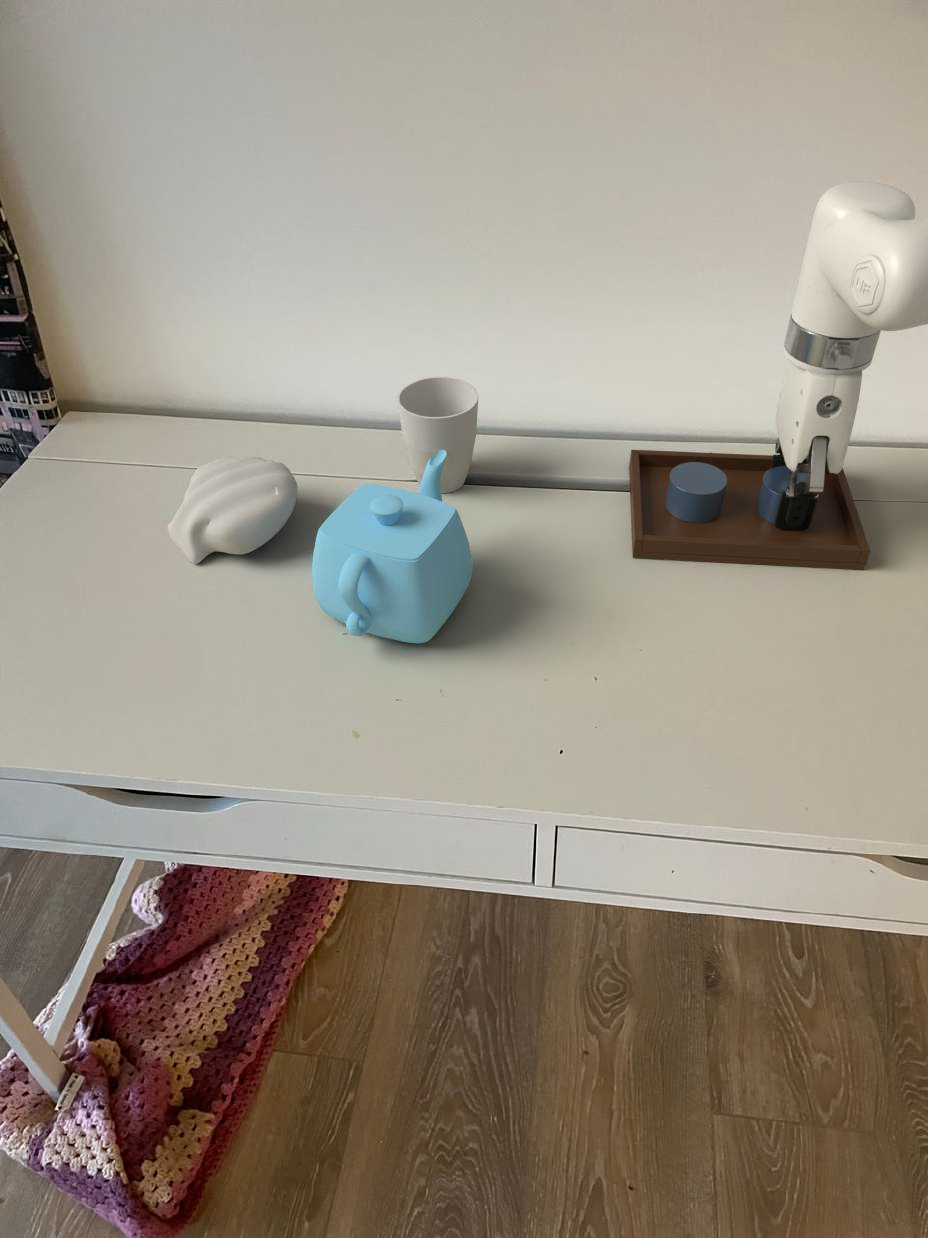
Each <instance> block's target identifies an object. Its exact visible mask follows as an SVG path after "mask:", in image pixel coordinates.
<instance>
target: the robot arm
mask: <svg viewBox="0 0 928 1238" xmlns="http://www.w3.org/2000/svg"><path fill="white" fill-rule="evenodd" d="M813 212H814V213H813V215H812V221H811V225H810V229H809V234H808V238H807V243H806V246H805V252H804V255H803V260H802V264H801V268H800V273H799V278H798V282H797V286H796V290H795V294H794V298H793V303H792V307H791V312H790V316H789V321H788V325H787V329H786V332H785V334H786V335H785V338H784V343H783V347H782V353H783V356H784V357H785V358H786V359H787V360H788V363H787V366H786V369H785V373H784V377H783V380H782V384H781V389H780V392H779V397H778V401H777V402H778V403H777V407H776V412H775V427H776V432H777V436H778V437H777V440H776V442H775V447H774V454H772V455H773V458H772V462H771V466H770V469H771V468H774V467H779V466H787V467H788V468H789V469H790V470H789V477H788V483H787V489H786V492H782V494H781V498H780V502H779V506H778V510H777V514H776V518H775V522H774V524H775V527H776V528H778V529H798V530H806V529H808V527H809V525H810V521H811V518H812V514H813V511H814V507H815V504H816V500H817V499H818V496H819V494H820V493H822V492H823V489H824V476H825V461H826V463H827V466H828V470H829V473H834V474H838V473H839V472H840V471H841V470H842V467H843V468H844V463H845V459H846V456H847V452H848V448H849V444H850V440H851V435H852V432H853V429H854V424H855V419H856V415H857V410H858V405H859V401H860V394H861V388H862V379H863V371H864V370H867V368H869V367H870V366H871V364H872V362H873V359H874V354H875V352H876V349H877V345H878V341H879V338H880V334H881V332H898V331H904V330H909V329H913V328H918V327H921V326H925V325H928V217H927V218H918V219H917V218H916V206H915V203H914V201H913V199H912V197H911V196H909V194H908V193H906V192H905V191H903V190H902V189H899V188H897V187H895V186H892V185H888V184H885V183H881V182H873V181H872V182H871V181H852V182H846V183H840V184H837V185H835V186H832V187H830V188H829V189H827V190H826V191H825V192H824V193H823V194H822V195H821V196H820V198H819V200H818V202H817V204H816V205H815V208H814V211H813ZM807 459H808V464H806V460H807ZM798 473H807V479H806V480H805V482H799V483H797V484H796V482H797V476H798Z"/></svg>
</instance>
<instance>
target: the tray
mask: <svg viewBox="0 0 928 1238" xmlns="http://www.w3.org/2000/svg"><path fill="white" fill-rule="evenodd" d="M772 458H773V454H772V455H770V454H748V453H747V454H746V453H725V452H723V453H720V452H696V451H676V450H675V451H673V450H652V449H649V450H648V449H631V450H630V457H629V464H628V475H629V477H628V478H629V500H630V501H629V503H630V526H631V528H630V529H631V554H632V555H631V556H632V558H633V559H649V560H666V561H667V560H668V561H686V562H705V563H722V564H723V563H725V564H741V565H742V564H743V565H765V566H781V567H782V566H784V567H799V568H801V567H803V568H821V569H841V570H860V571H863V570H865V567H866V565H867V563H868V560H869V557H870V554H871V549H870V546H869V543H868V539H867V536H866V533H865V531H864V528H863V524H862V522H861V519H860V516H859V512H858V509H857V507H856V503H855V500H854V498H853V495H852V491H851V489H850V485H849V483H848V479H847V476H846V473H845V471H844V466H843V467H842V470H841V471H840V472H839V473H838V474H834V473H829V470H828V466H827V463H826V461H825V476H824V489H823V492H822V493H820V496H819V500H818V503H817V507H816V510H815V514H814V517H813V519H812V520H811V521H810V525H809V527H808V529H806V530H798V529H778V528H776V527H775V525H774V524H772V523H770V522H768V521H766V520H764V519H763V518H762V517H761V516H760V515H759V514H758V512H757V509H756V505H757V500H758V496H759V492H760V488H761V483H762V479H763V476H764V474H765V473H766V472H767V471H768V470H770V466H771V462H772ZM688 462H700V463H706V464H710V465H713V466H715V467H717V468H719V469H720V470H721V471H723V472H724V474H725V475H726V477H727V487H726V491H725V496H724V501H723V506H722V511H721V513H720V515H719V516H718V517H717V518H715V519H714V520H711V521H708V522H704V523H691V522H686V521H683V520H680V519H678V518H676V517H674V516H673V515H671V514H670V513H669V512H668V510H667V508H666V505H665V502H666V496H667V489H668V483H669V476H670V472H671V471H672V469H673V468H675V467H676V466H678V465H680V464H683V463H688ZM806 464H808V459H807V460H806Z"/></svg>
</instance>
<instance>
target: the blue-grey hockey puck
mask: <svg viewBox="0 0 928 1238" xmlns="http://www.w3.org/2000/svg"><path fill="white" fill-rule="evenodd" d="M789 470H790V469H789V468H788V467H787V466H779V467H774V468H771V469H770V470H768V471H767V472H766V473H765V474H764V476H763V479H762V483H761V488H760V492H759V496H758V500H757V505H756V509H757V512H758V514H759V515H760V516H761V517H762V518H763V519H764V520H766V521H768V522H770V523H772V524H774V522H775V518H776V514H777V510H778V506H779V502H780V498H781V494H782V492H786V489H787V483H788V477H789ZM806 479H807V473H798V476H797V482H796V484H797V483H799V482H805V480H806ZM819 496H820V494H819ZM819 496H818V499H817V500H816V504H815V507H814V511H813V514H812V518H811V520H812V519H813V517H814V514H815V510H816V507H817V503H818V500H819ZM774 525H775V524H774Z"/></svg>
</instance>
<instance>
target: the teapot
mask: <svg viewBox="0 0 928 1238" xmlns="http://www.w3.org/2000/svg"><path fill="white" fill-rule="evenodd" d="M446 455H447V453H446V451H445V450H439V451H437V452H436V453H435V454H434V455H433V456H432V457H431V458H430V460H429V461H428V464H427V466H426V469H425V472H424V475H423V478H422V481H421V485H419V489H418V492H414V491H411V490H406V489H402V488H397V487H392V486H387V485H381V484H374V483H365V484H360V486H358V487H357V488H356V489H355V490H353V491H352V492H351V493H350V494H349V495H348V496H347V497H346V498H345V499H344V500H343V501H342V502H341V503H340V504H339V505H338V506H337V507H336V508H335V509H334V511H333V512H332V513H331V514H330V515H329V516H328V517H326V519H325V520H324V521H323V523H321V526H320V527H318V530H317V534H316V537H315V543H314V548H313V554H312V563H311V573H312V574H311V578H312V590H313V591H312V592H313V596H314V599H315V601H316V603H317V604H318V606H319V608H320V609H321V610H322V611H323V613H325V614H326V615H327V616H329V617H331V618H332V619H335V620H336V621H338V622H340V623H343V624H344V625H345V630H346V632H348V634H350V635H351V636H354V637H360V636H363V635H364V634H365V635H366V633H367V634H369V635H373V636H376V637H381V638H384V639H389V640H394V641H399V642H404V643H411V644H424V643H427V642H429V641H430V640H431V639H433V637H435V636H436V634H437V633H438V632H439V630H441V628H442V627H443V625H445V623H446V622H447V620H448V619H449V618H450V617H451V615H452V614H453V612H454V611H455V609H456V608H457V606H458V604H459V603H460V601H461V600H462V598H463V597H464V595H465V593H466V591H467V589H468V587H469V584H470V583H471V580H472V576H473V557H472V552H471V551H472V550H471V547H470V542H469V538H468V536H467V532H466V530H465V527H464V523H463V521H462V519H461V516H460V514H459V511H458V510H457V508H456V507H454V506H452V505H450V504H448V503H447V502H444V501H443V495H442V493H441V484H440V483H441V472H442V468H443V465H444V462H445V459H446Z"/></svg>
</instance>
